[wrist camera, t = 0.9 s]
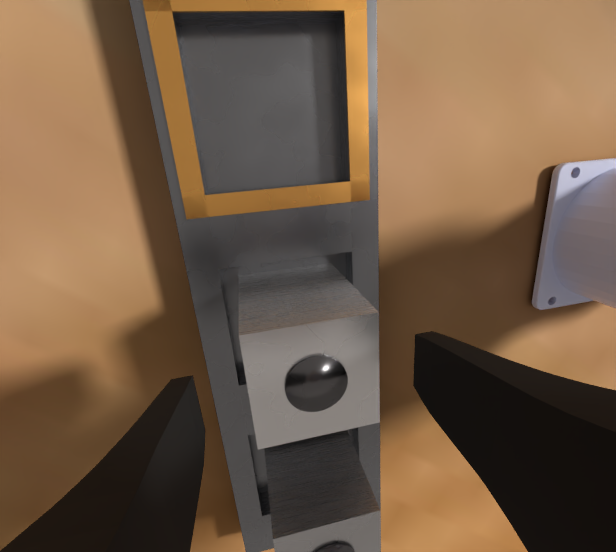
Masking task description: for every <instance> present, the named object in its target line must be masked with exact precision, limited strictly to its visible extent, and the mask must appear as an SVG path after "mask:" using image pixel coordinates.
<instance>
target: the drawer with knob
mask: <svg viewBox="0 0 616 552" xmlns="http://www.w3.org/2000/svg"><path fill="white" fill-rule="evenodd" d="M238 283H239V340H240V346H241V352H242V358H243V364H244V370H245V376H246V382H247V388H248V394H249V400H250V406H251V412H252V418H253V424H254V430H255V436H256V442H257V448H258V450H259V449H263V448H268V447H272V446H277V445H281V444H286V443H290V442H295V441H299V440H303V439H308V438H312V437H317V436H321V435H326V434H330V433H335V432H339V431H344V430H348V429H353V428H357V427H361V426H366V425H370V424H375V423H379V422H380V389H379V312H378V311H377V310H376V309H375V308H374V307H373V306H372V305H371V304H370V303H369V302H368V301H367V300H366V299H365V297H364V296H363V295H362V294H361V293H360V292H359V291H358V290H357V289H356V288H355V287H354V286H353V285H352V284H351V283H350V282H349V281H348V280H347V279H346V278H345V277H344V276H343V275H342V274H341V273H340V272H339V271H338V270H337V269H336V268H335V267H334V266H333V265H332V264H331V263H327V264H320V265H313V266H305V267H298V268H291V269H283V270H276V271H269V272H261V273H254V274H247V275H239V276H238Z"/></svg>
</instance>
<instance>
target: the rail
mask: <svg viewBox="0 0 616 552" xmlns="http://www.w3.org/2000/svg"><path fill="white" fill-rule="evenodd" d="M129 1H130V6H131V11H132V16H133V20H134V25H135V30H136V35H137V39H138V44H139V49H140V53H141V58H142V63H143V68H144V72H145V77H146V82H147V87H148V91H149V96H150V101H151V105H152V110H153V115H154V120H155V124H156V129H157V134H158V139H159V143H160V148H161V153H162V157H163V162H164V167H165V172H166V176H167V181H168V186H169V191H170V195H171V200H172V205H173V209H174V214H175V219H176V224H177V228H178V233H179V238H180V243H181V247H182V252H183V257H184V261H185V266H186V271H187V276H188V280H189V285H190V290H191V295H192V299H193V304H194V309H195V313H196V318H197V323H198V328H199V332H200V337H201V342H202V346H203V351H204V356H205V361H206V365H207V370H208V375H209V380H210V384H211V389H212V394H213V398H214V403H215V408H216V413H217V417H218V422H219V427H220V432H221V436H222V441H223V446H224V450H225V455H226V460H227V465H228V469H229V474H230V479H231V484H232V488H233V493H234V498H235V502H236V507H237V512H238V517H239V521H240V526H241V531H242V536H243V540H244V545H245V550H246V552H261V551H264V550H268V549H272V548H274V543H273V535H272V525H271V514H270V503H269V493H268V482H267V471H266V461H265V450H264V448H263V449H259V450H258V448H257V442H256V436H255V430H254V424H253V418H252V412H251V406H250V400H249V394H248V388H247V382H246V376H245V370H244V364H243V358H242V352H241V346H240V340H239V283H238V276H239V275H247V274H254V273H261V272H269V271H276V270H283V269H291V268H298V267H305V266H313V265H320V264H327V263H331V264H332V265H333V266H334V267H335V268H336V269H337V270H338V271H339V272H340V273H341V274H342V275H343V276H344V277H345V278H346V279H347V280H348V281H349V282H350V283H351V284H352V285H353V286H354V287H355V288H356V289H357V290H358V291H359V292H360V293H361V294H362V295H363V296H364V297H365V299H366V300H367V301H368V302H369V303H370V304H371V305H372V306H373V307H374V308H375V309H376V310H377V311H378V312H379V250H378V117H377V0H129ZM379 389H380V383H379ZM347 431H348V433H349V436H350V438H351V441H352V443H353V446H354V448H355V450H356V453H357V455H358V458H359V460H360V462H361V465H362V467H363V470H364V472H365V474H366V477H367V479H368V482H369V484H370V486H371V489H372V491H373V494H374V496H375V498H376V501H377V503H378V506H379V508H380V422H379V423H375V424H370V425H366V426H361V427H357V428H353V429H348V430H347ZM380 518H381V516H380Z"/></svg>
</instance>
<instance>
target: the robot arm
mask: <svg viewBox="0 0 616 552" xmlns="http://www.w3.org/2000/svg"><path fill="white" fill-rule="evenodd" d="M572 170H573V172H572ZM571 172H572V175H571ZM589 301H597V302H600V303H602V304H605V305H608V306H610V307H613V308H616V158H610V159H600V160H589V161H579V162H568V163H561V164H559V165H557V166H556V167H555V169H554V170H553V173H552V179H551V185H550V191H549V198H548V204H547V210H546V216H545V223H544V229H543V235H542V241H541V248H540V254H539V260H538V266H537V272H536V279H535V285H534V291H533V297H532V305H533V307H535V308H537V309H539V310H544V309H550V308H556V307H561V306H567V305H572V304H578V303H583V302H589ZM413 386H414V387H415V389H416V391H417V393H418V394H419V396H420V398H421V400H422V401H423V403H424V405H425V406H426V408H427V409H428V411H429V413H430V414H431V415H432V417H433V418H434V419H435V421H436V422H437V423H438V424H439V426H440V427H441V428H442V430H443V431H444V432H445V433H446V435H447V436H448V437H449V439H450V440H451V441H452V442H453V444H454V445H455V446H456V447H457V449H458V450H459V451H460V452H461V454H462V455H463V456H464V458H465V459H466V460H467V461H468V463H469V464H470V465H471V466H472V468H473V469H474V470H475V472H476V473H477V474H478V476H479V477H480V478H481V480H482V481H483V482H484V484H485V485H486V487H487V488H488V489H489V491H490V492H491V494H492V496H493V497H494V499H495V500H496V502H497V503H498V505H499V506H500V508H501V509H502V511H503V512H504V514H505V515H506V517H507V519H508V520H509V522H510V523H511V525H512V526H513V528H514V530H515V531H516V533H517V535H518V536H519V538H520V539H521V541H522V543H523V544H524V546H525V547H526V549H527V551H528V552H616V390H611V389H607V388H602V387H598V386H594V385H590V384H586V383H582V382H578V381H575V380H571V379H567V378H564V377H560V376H557V375H553V374H550V373H546V372H543V371H540V370H537V369H534V368H531V367H528V366H525V365H522V364H519V363H516V362H513V361H511V360H508V359H505V358H502V357H500V356H497V355H494V354H492V353H489V352H487V351H484V350H481V349H479V348H476V347H474V346H471V345H469V344H466V343H464V342H461V341H458V340H456V339H453V338H450V337H448V336H445V335H442V334H439V333H436V332H432V331H431V332H426V333H420V334H415V355H414V385H413ZM204 450H205V427H204V422H203V418H202V414H201V409H200V405H199V401H198V396H197V392H196V388H195V383H194V379H193V376H187V377H182V378H176V379H171V380H170V382H169V383H168V384H167V385H166V386H165V388H164V389H163V390H162V391H161V392H160V394H159V395H158V396H157V397H156V399H155V400H154V401H153V402H152V403H151V405H150V406H149V407H148V408H147V410H146V411H145V412H144V413H143V414H142V416H141V417H140V418H139V419H138V420H137V421H136V423H135V424H134V425H133V426H132V427H131V429H130V430H129V431H128V432H127V433H126V434H125V435H124V436H123V437H122V438H121V440H120V441H119V442H118V443H117V444H116V445H115V446H114V447H113V448H112V449H111V450H110V451H109V453H108V454H107V455H106V456H105V457H104V458H103V459H102V460H101V461H100V462H99V463H98V464H97V465H96V466H95V467H94V468H93V469H92V470H91V471H90V472H89V473H88V474H87V475H86V476H85V477H84V478H83V479H82V480H81V481H80V482H79V483H78V484H77V485H76V486H75V487H74V488H72V489H71V490H70V491H69V492H68V493H67V494H66V495H65V496H64V497H63V498H62V499H61V500H60V501H58V502H57V503H56V504H55V505H54V506H53V507H52V508H51V509H49V510H48V511H47V512H46V513H45V514H44V515H42V516H41V517H40V518H39V519H38V520H36V521H35V522H34V523H33V524H32V525H30V526H29V527H28V528H27V529H26V530H25V531H23V532H22V533H21V534H20V535H19V536H17V537H16V538H15V539H14V540H13V541H11V542H10V543H9V544H8V545H7V546H6V547H4V548H3V549H2V550H1V551H0V552H190V547H191V541H192V535H193V529H194V523H195V516H196V510H197V504H198V498H199V492H200V485H201V479H202V473H203V466H204Z"/></svg>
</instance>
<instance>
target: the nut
mask: <svg viewBox="0 0 616 552" xmlns="http://www.w3.org/2000/svg"><path fill="white" fill-rule="evenodd" d="M264 450H265V461H266V471H267V482H268V493H269V503H270V514H271V525H272V535H273V543H274V549H275V552H381V521H380V508H379V506H378V503H377V501H376V498H375V496H374V494H373V491H372V489H371V486H370V484H369V482H368V479H367V477H366V474H365V472H364V470H363V467H362V465H361V462H360V460H359V458H358V455H357V453H356V450H355V448H354V446H353V443H352V441H351V438H350V436H349V433H348V431H347V430H344V431H339V432H335V433H330V434H326V435H321V436H317V437H312V438H308V439H303V440H299V441H295V442H290V443H286V444H281V445H277V446H272V447H268V448H264Z"/></svg>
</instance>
